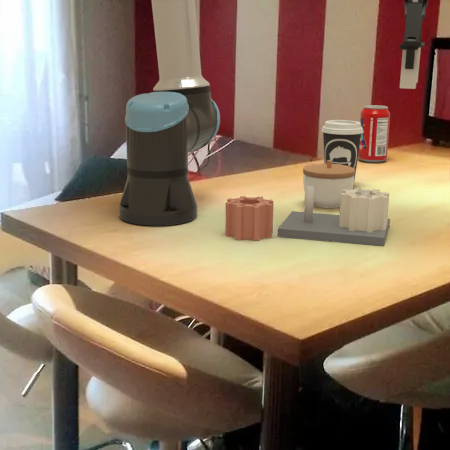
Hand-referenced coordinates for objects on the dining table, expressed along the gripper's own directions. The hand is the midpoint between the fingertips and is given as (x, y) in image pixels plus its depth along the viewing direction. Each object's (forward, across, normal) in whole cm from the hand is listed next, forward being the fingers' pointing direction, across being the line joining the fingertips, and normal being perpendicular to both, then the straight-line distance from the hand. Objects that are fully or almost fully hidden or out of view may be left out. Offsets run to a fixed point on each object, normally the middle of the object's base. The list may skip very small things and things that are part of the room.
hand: (409, 85), depth 135 cm
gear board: (+26, -11, +11) cm, 30 cm away
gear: (+26, -17, +25) cm, 40 cm away
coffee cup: (+26, +27, +14) cm, 41 cm away
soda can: (+26, +63, +10) cm, 69 cm away
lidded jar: (+26, +9, +15) cm, 31 cm away
